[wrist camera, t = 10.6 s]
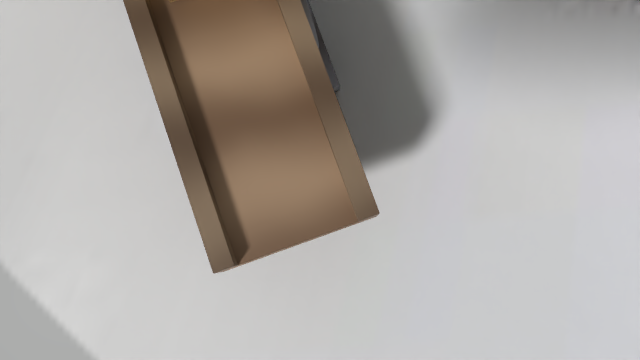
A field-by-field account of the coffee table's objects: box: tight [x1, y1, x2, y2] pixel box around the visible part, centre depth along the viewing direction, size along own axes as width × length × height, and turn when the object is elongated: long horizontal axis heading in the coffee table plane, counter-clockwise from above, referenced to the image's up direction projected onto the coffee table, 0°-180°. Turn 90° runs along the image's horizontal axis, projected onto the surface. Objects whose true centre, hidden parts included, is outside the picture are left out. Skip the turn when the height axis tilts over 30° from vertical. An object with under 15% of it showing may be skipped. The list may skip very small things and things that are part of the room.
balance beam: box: [123, 0, 379, 273], centre depth 30 cm, size 24×10×12 cm, turn 20°
